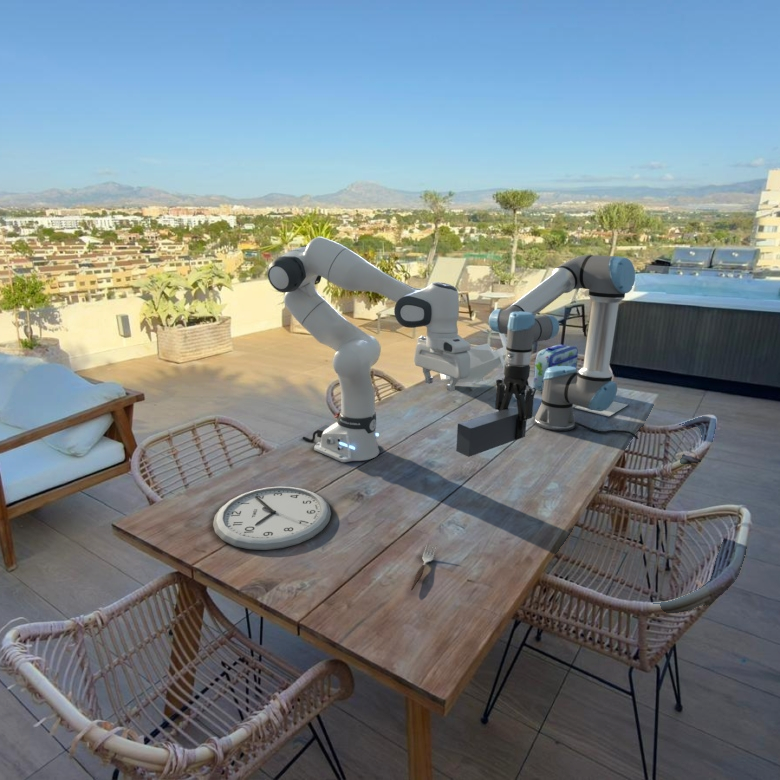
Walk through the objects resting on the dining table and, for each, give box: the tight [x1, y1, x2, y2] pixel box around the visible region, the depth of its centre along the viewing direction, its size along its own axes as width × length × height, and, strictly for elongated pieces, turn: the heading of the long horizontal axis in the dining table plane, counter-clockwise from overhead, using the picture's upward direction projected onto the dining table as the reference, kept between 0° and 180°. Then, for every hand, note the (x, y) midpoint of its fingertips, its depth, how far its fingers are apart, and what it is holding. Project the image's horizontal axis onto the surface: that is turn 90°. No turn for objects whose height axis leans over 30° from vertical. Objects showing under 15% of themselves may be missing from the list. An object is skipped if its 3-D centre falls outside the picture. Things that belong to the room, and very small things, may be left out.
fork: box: [410, 542, 438, 591], centre depth 116 cm, size 3×16×2 cm, turn 160°
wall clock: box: [212, 486, 332, 551], centre depth 136 cm, size 30×2×30 cm
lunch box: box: [533, 344, 579, 392], centre depth 247 cm, size 26×11×21 cm, turn 134°
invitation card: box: [573, 400, 629, 418], centre depth 226 cm, size 21×1×15 cm
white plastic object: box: [439, 332, 526, 400], centre depth 245 cm, size 37×45×31 cm
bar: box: [455, 406, 528, 458], centre depth 158 cm, size 26×5×9 cm, turn 128°
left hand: (439, 386), depth 154 cm, fingers open, 8 cm apart
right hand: (511, 435), depth 164 cm, fingers closed on bar, 5 cm apart
